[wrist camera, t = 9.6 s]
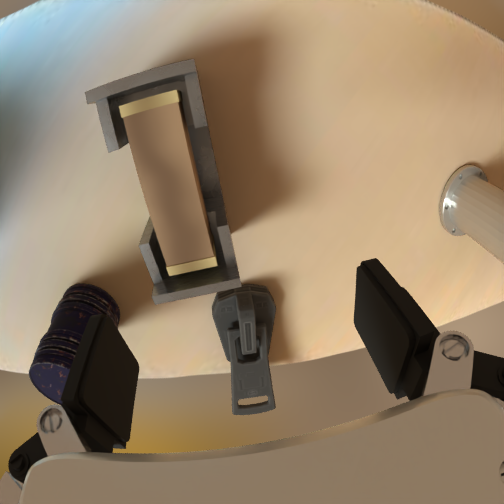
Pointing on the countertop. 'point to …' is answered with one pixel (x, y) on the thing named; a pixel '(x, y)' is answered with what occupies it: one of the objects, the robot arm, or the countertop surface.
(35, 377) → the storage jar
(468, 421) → the robot arm
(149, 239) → the grey cradle stand
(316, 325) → the countertop surface
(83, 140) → the countertop surface
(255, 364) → the zipper pull
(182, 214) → the brown rectangular block
